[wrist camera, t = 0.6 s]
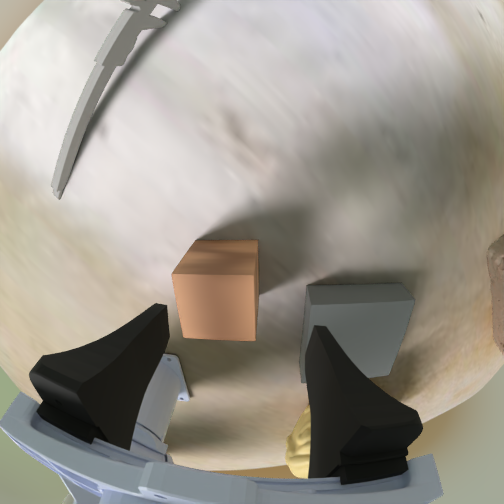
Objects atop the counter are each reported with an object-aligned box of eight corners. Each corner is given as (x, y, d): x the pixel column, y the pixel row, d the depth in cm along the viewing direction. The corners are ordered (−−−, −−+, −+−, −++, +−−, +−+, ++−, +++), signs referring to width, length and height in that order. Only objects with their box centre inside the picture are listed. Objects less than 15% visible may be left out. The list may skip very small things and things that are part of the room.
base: (299, 361, 26) (301, 383, 23) (306, 285, 22) (311, 305, 20) (380, 355, 25) (388, 375, 22) (401, 282, 22) (415, 299, 19)
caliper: (174, 5, 14) (145, -30, 8) (183, 9, 14) (156, -27, 8) (55, 193, 21) (11, 210, 15) (62, 199, 21) (17, 218, 15)
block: (201, 294, 23) (183, 337, 18) (195, 240, 22) (171, 273, 16) (259, 295, 23) (255, 341, 18) (258, 239, 21) (253, 275, 16)
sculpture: (354, 362, 26) (378, 447, 16) (391, 402, 29) (412, 466, 19) (271, 405, 29) (269, 482, 19) (322, 436, 32) (328, 497, 22)
